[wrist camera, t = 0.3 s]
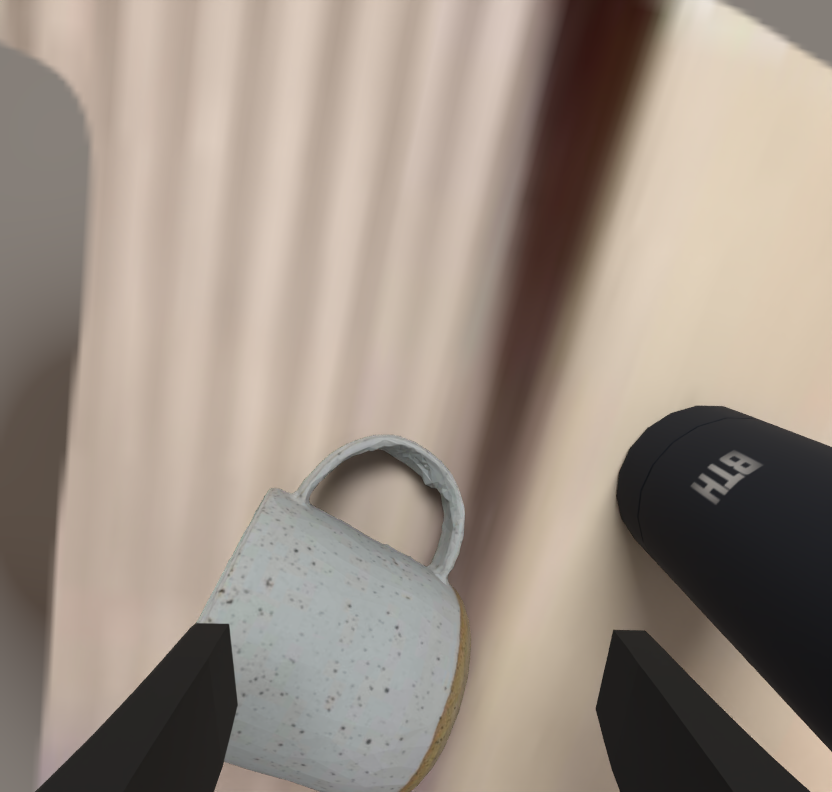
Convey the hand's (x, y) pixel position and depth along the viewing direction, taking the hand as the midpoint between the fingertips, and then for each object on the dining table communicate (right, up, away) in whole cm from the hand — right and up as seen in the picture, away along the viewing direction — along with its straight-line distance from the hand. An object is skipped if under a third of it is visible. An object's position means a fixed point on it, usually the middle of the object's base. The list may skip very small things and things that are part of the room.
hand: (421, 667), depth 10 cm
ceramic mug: (-3, -1, +11) cm, 12 cm away
